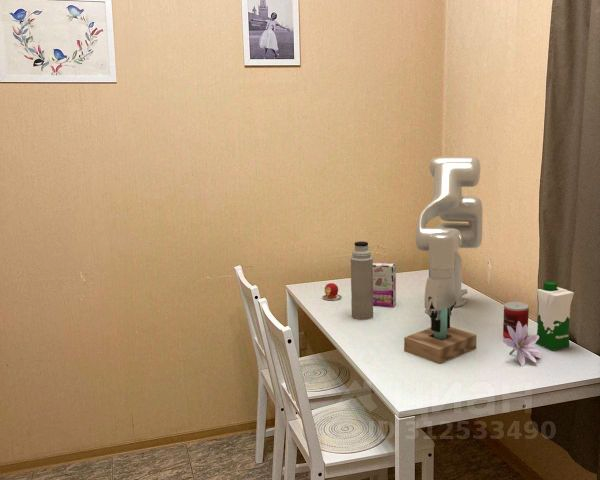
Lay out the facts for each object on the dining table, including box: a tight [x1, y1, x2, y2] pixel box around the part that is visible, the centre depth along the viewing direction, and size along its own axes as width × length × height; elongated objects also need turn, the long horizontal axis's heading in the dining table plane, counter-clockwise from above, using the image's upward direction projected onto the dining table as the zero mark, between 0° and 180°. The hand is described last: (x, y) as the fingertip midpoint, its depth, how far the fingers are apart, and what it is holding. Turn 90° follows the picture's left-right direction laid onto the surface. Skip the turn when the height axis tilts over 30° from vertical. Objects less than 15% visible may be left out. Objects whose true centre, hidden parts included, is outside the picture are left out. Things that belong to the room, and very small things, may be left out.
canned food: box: [502, 301, 530, 341], centre depth 204 cm, size 8×8×11 cm
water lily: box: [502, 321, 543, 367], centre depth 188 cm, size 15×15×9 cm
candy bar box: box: [373, 261, 397, 308], centre depth 242 cm, size 11×5×16 cm, turn 68°
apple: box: [321, 282, 343, 301], centre depth 253 cm, size 8×8×6 cm
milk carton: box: [535, 281, 575, 352], centre depth 195 cm, size 9×9×20 cm
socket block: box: [403, 326, 477, 364], centre depth 197 cm, size 18×14×4 cm
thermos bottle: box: [350, 241, 374, 321], centre depth 228 cm, size 8×8×28 cm
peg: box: [434, 308, 447, 340], centre depth 195 cm, size 4×4×16 cm
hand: (440, 328), depth 196 cm, fingers closed on peg, 4 cm apart
